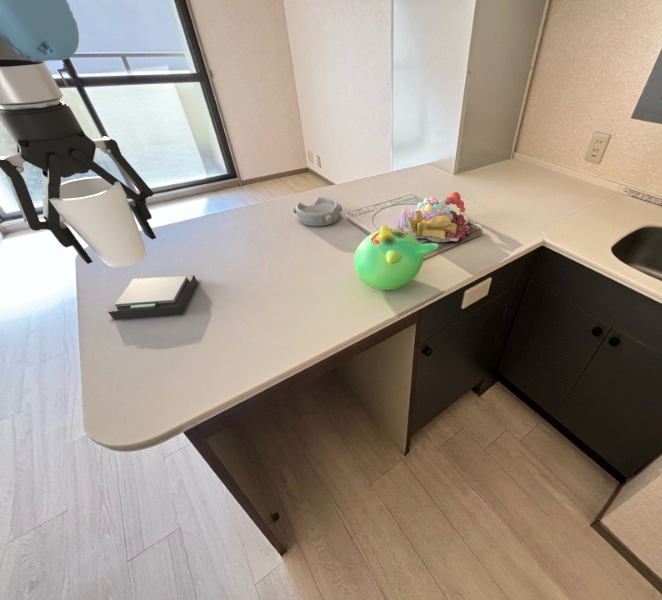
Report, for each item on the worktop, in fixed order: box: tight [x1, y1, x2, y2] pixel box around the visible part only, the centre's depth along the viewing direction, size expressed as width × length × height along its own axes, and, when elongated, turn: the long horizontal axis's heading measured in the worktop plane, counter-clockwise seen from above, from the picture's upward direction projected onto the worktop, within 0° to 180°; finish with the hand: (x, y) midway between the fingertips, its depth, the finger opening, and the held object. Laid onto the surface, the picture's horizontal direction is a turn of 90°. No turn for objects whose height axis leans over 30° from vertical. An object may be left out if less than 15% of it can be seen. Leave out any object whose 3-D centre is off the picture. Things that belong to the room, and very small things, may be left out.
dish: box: [292, 196, 343, 227], centre depth 110 cm, size 14×14×5 cm
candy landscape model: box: [399, 191, 472, 243], centre depth 107 cm, size 25×24×9 cm
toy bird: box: [353, 224, 440, 291], centre depth 81 cm, size 18×17×15 cm
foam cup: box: [44, 175, 148, 268], centre depth 55 cm, size 10×9×13 cm
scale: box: [107, 274, 198, 321], centre depth 76 cm, size 14×12×3 cm
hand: (120, 247), depth 58 cm, fingers closed on foam cup, 9 cm apart
